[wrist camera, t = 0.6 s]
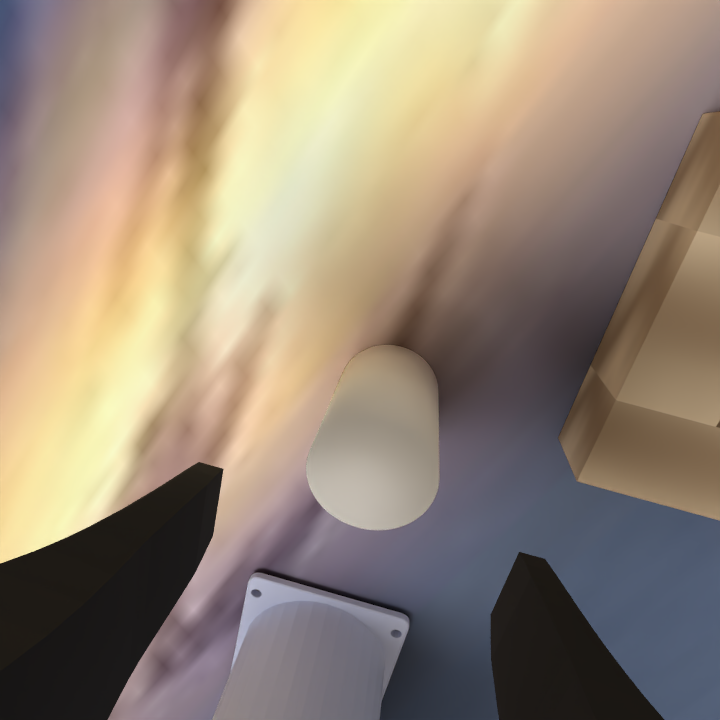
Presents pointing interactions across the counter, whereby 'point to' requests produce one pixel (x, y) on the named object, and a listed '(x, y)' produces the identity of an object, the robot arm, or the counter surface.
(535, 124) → the counter surface
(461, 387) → the counter surface
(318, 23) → the counter surface
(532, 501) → the counter surface
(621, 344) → the socket block
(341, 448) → the peg
